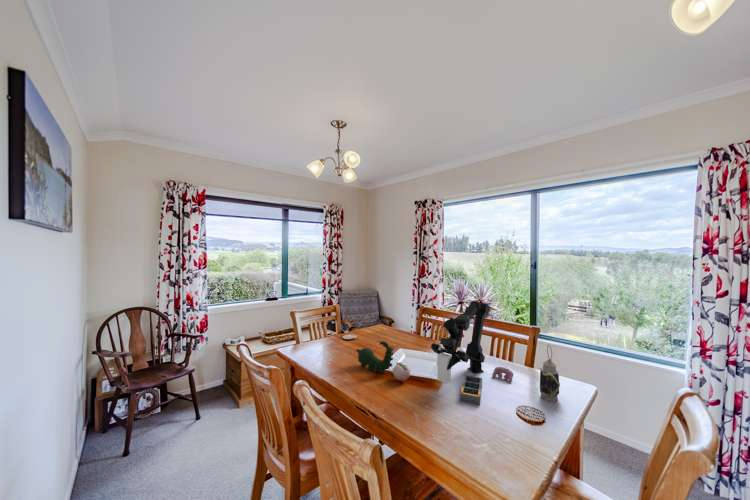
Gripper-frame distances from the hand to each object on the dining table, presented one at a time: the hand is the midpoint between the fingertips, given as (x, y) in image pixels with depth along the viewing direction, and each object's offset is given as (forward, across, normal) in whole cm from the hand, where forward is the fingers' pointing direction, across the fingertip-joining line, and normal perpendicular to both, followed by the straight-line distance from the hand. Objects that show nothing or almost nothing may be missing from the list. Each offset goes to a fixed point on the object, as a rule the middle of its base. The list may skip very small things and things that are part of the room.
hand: (442, 367), depth 137 cm
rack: (+1, +10, +16) cm, 19 cm away
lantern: (-14, +38, +31) cm, 51 cm away
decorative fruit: (+13, -22, +5) cm, 26 cm away
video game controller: (-16, +15, +34) cm, 41 cm away
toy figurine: (+13, -42, +4) cm, 44 cm away
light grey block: (+4, 0, +6) cm, 7 cm away
